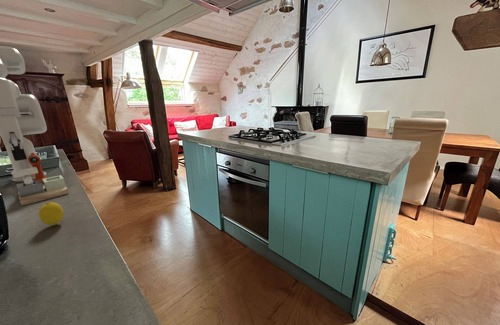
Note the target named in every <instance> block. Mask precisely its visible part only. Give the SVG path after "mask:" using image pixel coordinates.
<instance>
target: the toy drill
mask: <svg viewBox="0 0 500 325" xmlns="http://www.w3.org/2000/svg"><path fill="white" fill-rule="evenodd" d="M28 161H29V163H30V164H31V165H32V167H37V170H38V173H36V174H35V177H36V178H35V179H34V180H39V179H40V180H41V182H42V185H44V183H43V180H42V179H45V178H48V177H47V175H44V173H43V172H44V171H43V169H42V165H41V163H42V160H41V157H40V156H39V155H38V154H34V153H31V155H30V156H29V157H28Z"/></svg>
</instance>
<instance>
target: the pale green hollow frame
mask: <svg viewBox="0 0 500 325" xmlns="http://www.w3.org/2000/svg"><path fill="white" fill-rule="evenodd" d="M42 180H43V186H45V188H46V190H47V191H51V190H55V189H59V188H63V187H66V188H67V185H66V182H65V178H64V177H63V175H61V174H60V175H56V176H55V175H54V176H50V177H47V178H45V179H42Z"/></svg>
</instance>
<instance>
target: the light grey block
mask: <svg viewBox="0 0 500 325" xmlns="http://www.w3.org/2000/svg"><path fill="white" fill-rule="evenodd" d="M11 172H12V174H11V175H12V179H13V178H15V177H20V176H22V177H23V180H24V181H23V183H25V186H26V185H31V184H34V183H33V181H34V180H32V177H31V174H36V173H38V170H37V167H32V168H27V169H21V170H15V171H14V170H12V171H11Z"/></svg>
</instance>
